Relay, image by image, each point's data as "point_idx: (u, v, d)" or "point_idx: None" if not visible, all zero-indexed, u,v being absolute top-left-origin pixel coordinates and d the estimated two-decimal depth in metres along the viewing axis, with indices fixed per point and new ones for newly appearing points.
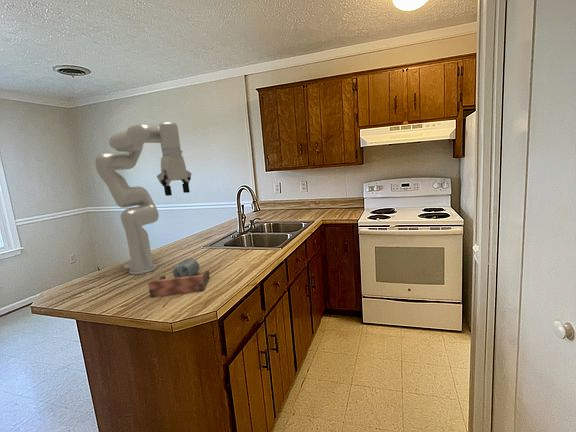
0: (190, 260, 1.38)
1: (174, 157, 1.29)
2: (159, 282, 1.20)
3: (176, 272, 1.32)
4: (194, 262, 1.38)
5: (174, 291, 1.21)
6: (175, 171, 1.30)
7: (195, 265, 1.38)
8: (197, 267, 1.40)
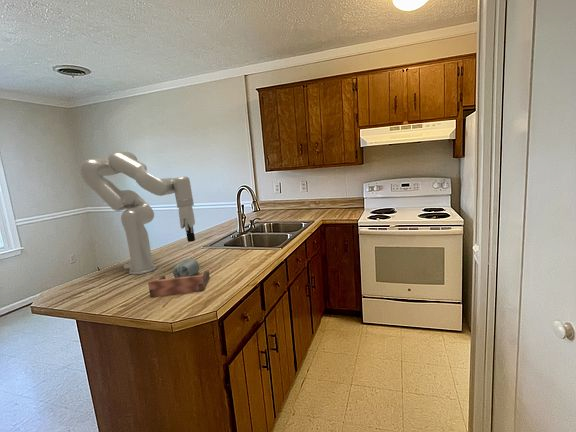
0: (190, 260, 1.38)
1: (190, 207, 1.47)
2: (159, 282, 1.20)
3: (176, 272, 1.32)
4: (194, 262, 1.38)
5: (174, 291, 1.21)
6: (192, 219, 1.47)
7: (195, 265, 1.38)
8: (197, 267, 1.40)
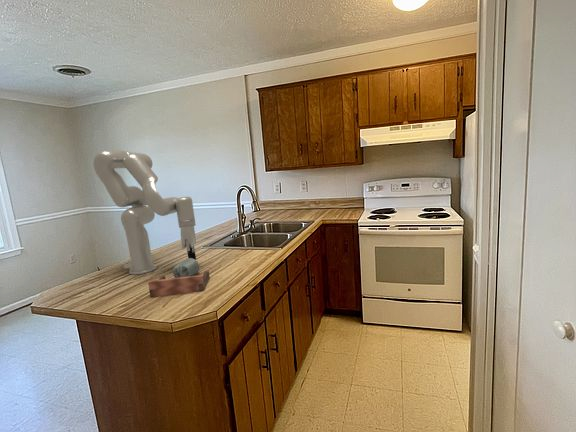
0: (190, 260, 1.38)
1: (192, 227, 1.47)
2: (159, 282, 1.20)
3: (176, 272, 1.32)
4: (194, 262, 1.38)
5: (174, 291, 1.21)
6: (193, 239, 1.48)
7: (195, 265, 1.38)
8: (197, 267, 1.40)
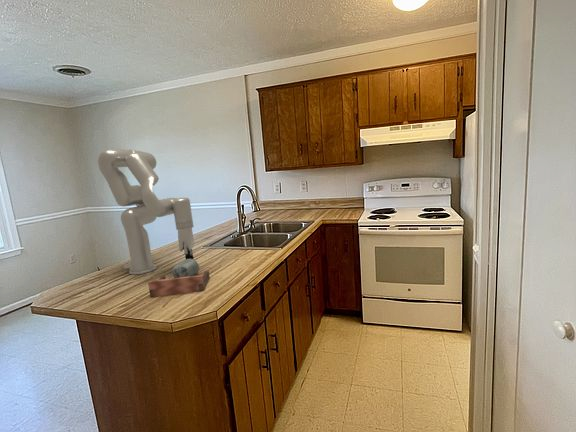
0: (189, 260, 1.37)
1: (190, 229, 1.42)
2: (159, 282, 1.20)
3: (175, 272, 1.31)
4: (193, 262, 1.37)
5: (174, 291, 1.21)
6: (191, 241, 1.43)
7: (194, 266, 1.37)
8: (197, 268, 1.39)
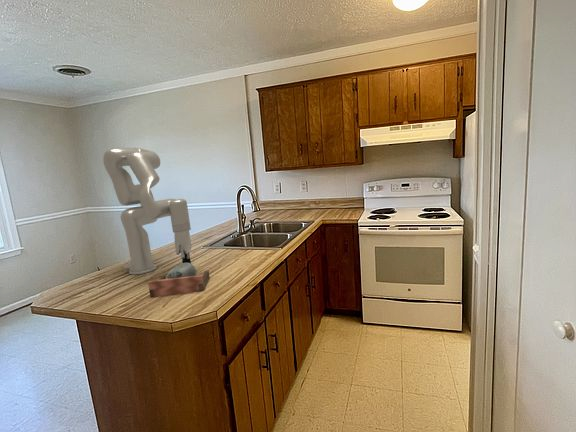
0: (186, 265, 1.32)
1: (187, 231, 1.37)
2: (159, 282, 1.20)
3: (170, 277, 1.26)
4: (190, 267, 1.32)
5: (174, 291, 1.21)
6: (188, 244, 1.37)
7: (191, 270, 1.31)
8: (193, 272, 1.33)
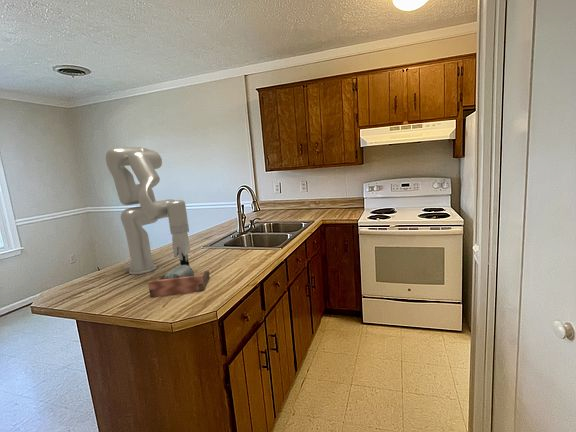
0: (183, 267, 1.29)
1: (185, 233, 1.34)
2: (159, 282, 1.20)
3: None
4: (188, 269, 1.29)
5: (174, 291, 1.21)
6: (186, 246, 1.34)
7: (188, 273, 1.28)
8: (191, 275, 1.30)
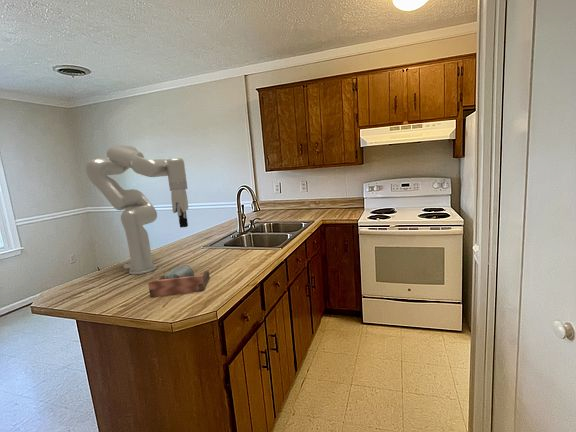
0: (183, 267, 1.29)
1: (184, 190, 1.39)
2: (159, 282, 1.20)
3: None
4: (188, 270, 1.29)
5: (174, 291, 1.21)
6: (185, 203, 1.40)
7: (189, 273, 1.28)
8: (191, 275, 1.30)
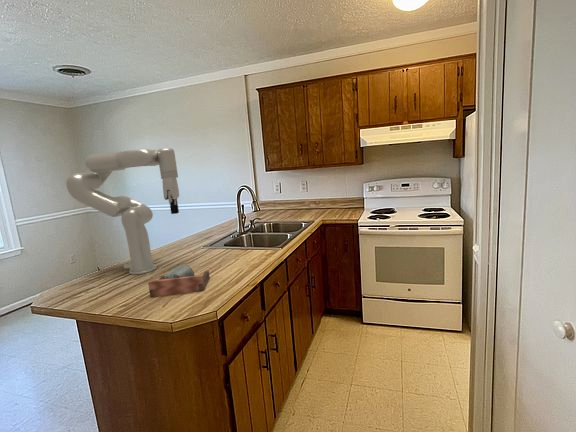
0: (183, 267, 1.29)
1: (174, 178, 1.48)
2: (159, 282, 1.20)
3: None
4: (188, 270, 1.29)
5: (174, 291, 1.21)
6: (176, 191, 1.48)
7: (189, 273, 1.28)
8: (191, 275, 1.30)
